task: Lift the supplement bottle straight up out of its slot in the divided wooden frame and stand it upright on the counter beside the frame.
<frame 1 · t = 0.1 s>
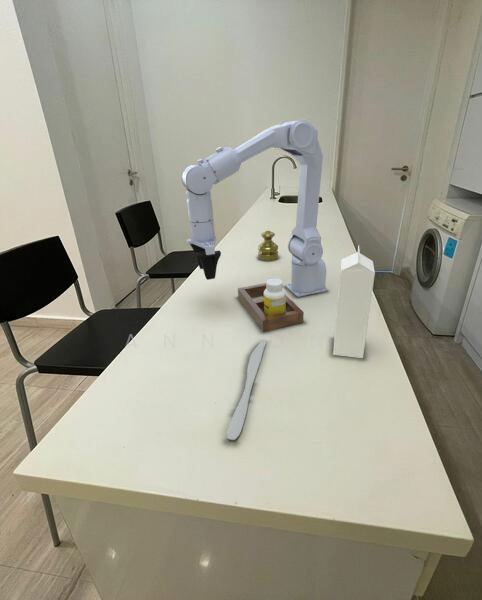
hand: (207, 273, 84), 10 cm above the table, tool pointing down, fingers open, 7 cm apart
brass tiered ornament: (268, 258, 123), on the table
butter knife: (249, 382, 62), on the table
milk: (347, 349, 70), on the table
divided wooden frame: (268, 309, 87), on the table
supplement bottle: (275, 317, 83), resting in divided wooden frame
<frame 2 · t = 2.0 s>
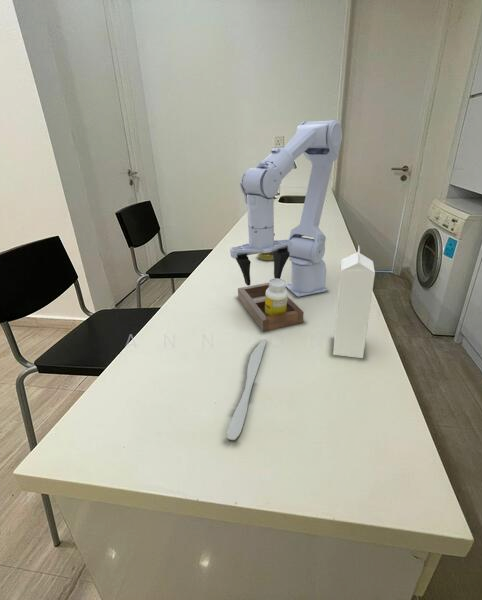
hand: (262, 281, 80), 9 cm above the table, tool pointing down, fingers open, 7 cm apart
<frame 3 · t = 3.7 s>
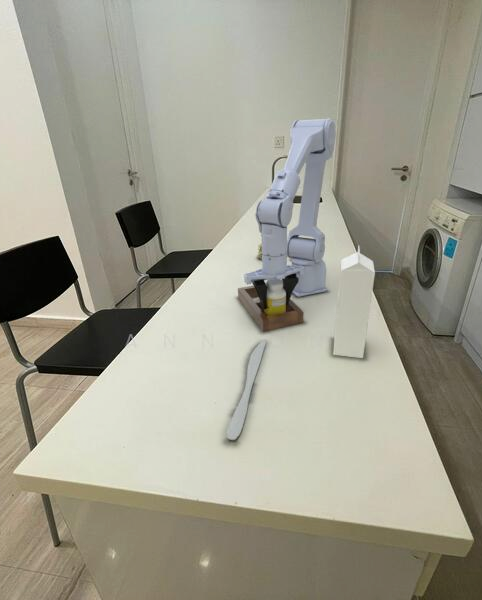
hand: (274, 305, 82), 3 cm above the table, tool pointing down, fingers closed on supplement bottle, 5 cm apart
supplement bottle: (274, 317, 83), resting in divided wooden frame, touching gripper
everything else where it was.
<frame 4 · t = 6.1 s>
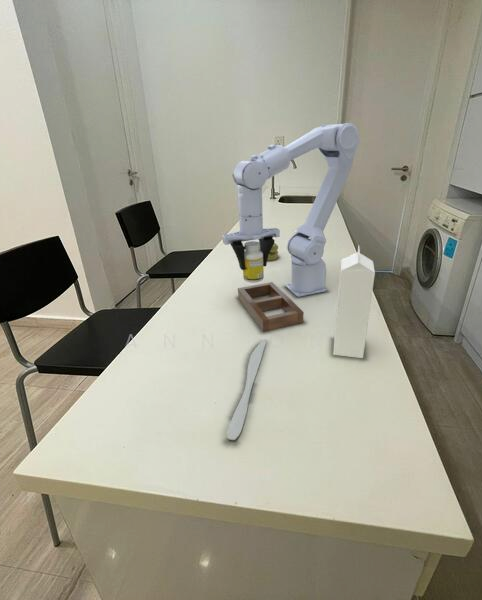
hand: (252, 267, 86), 10 cm above the table, tool pointing down, fingers closed on supplement bottle, 5 cm apart
supplement bottle: (253, 279, 88), point 7 cm above the table, touching gripper
everything else where it was.
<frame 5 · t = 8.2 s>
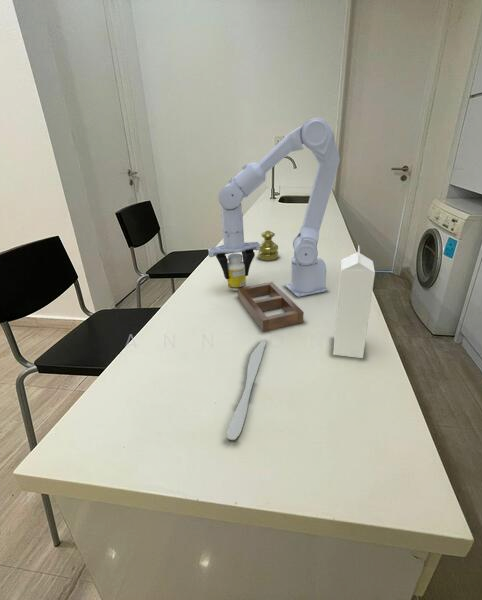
hand: (236, 276, 97), 4 cm above the table, tool pointing down, fingers closed on supplement bottle, 5 cm apart
supplement bottle: (236, 287, 98), point 1 cm above the table, touching gripper
everything else where it was.
when the fingers open (3 cm above the table, at t = 9.0 s): supplement bottle stays where it is, on the table.
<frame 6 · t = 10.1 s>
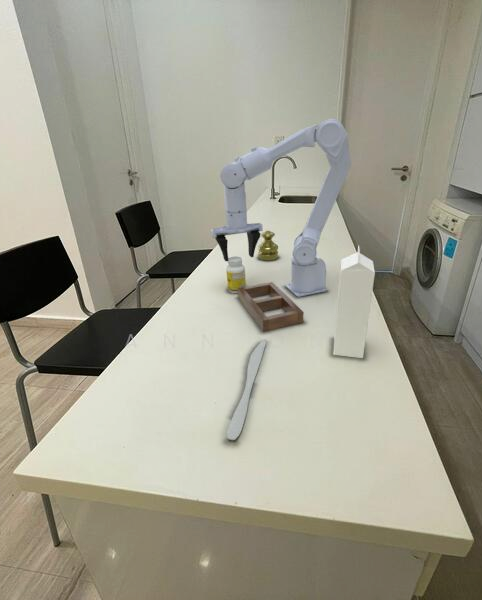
hand: (238, 258, 96), 9 cm above the table, tool pointing down, fingers open, 7 cm apart
supplement bottle: (237, 290, 99), on the table, touching gripper
everything else where it was.
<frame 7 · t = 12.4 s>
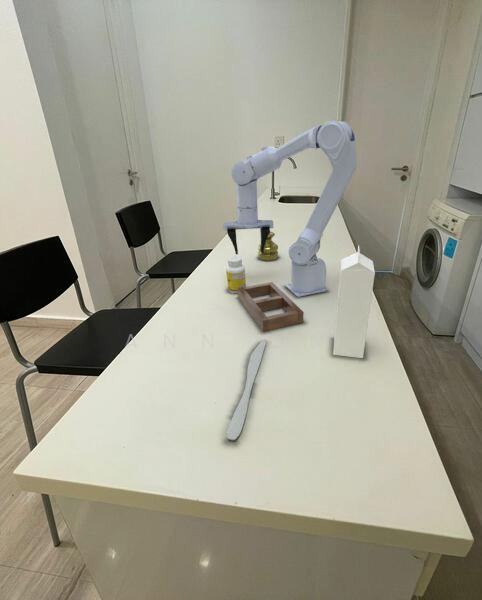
hand: (249, 252, 100), 9 cm above the table, tool pointing down, fingers open, 7 cm apart
supplement bottle: (237, 290, 99), on the table
everything else where it was.
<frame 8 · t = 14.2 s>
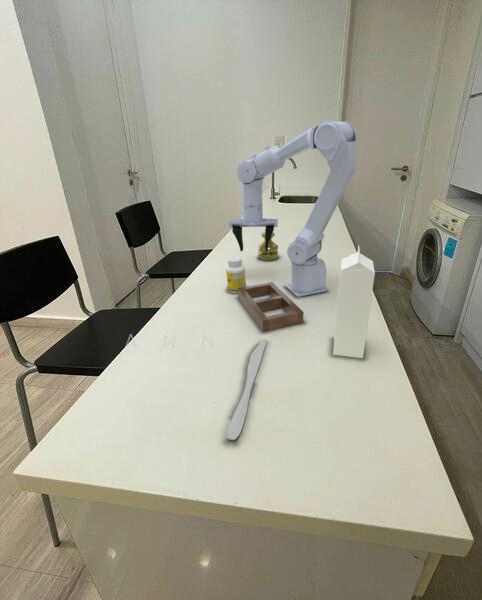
hand: (254, 250, 102), 9 cm above the table, tool pointing down, fingers open, 7 cm apart
nothing on the table moved.
at the end: supplement bottle inside the target area (0.0 cm from its centre), on the table; supplement bottle tilted 0°; the gripper is holding nothing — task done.
